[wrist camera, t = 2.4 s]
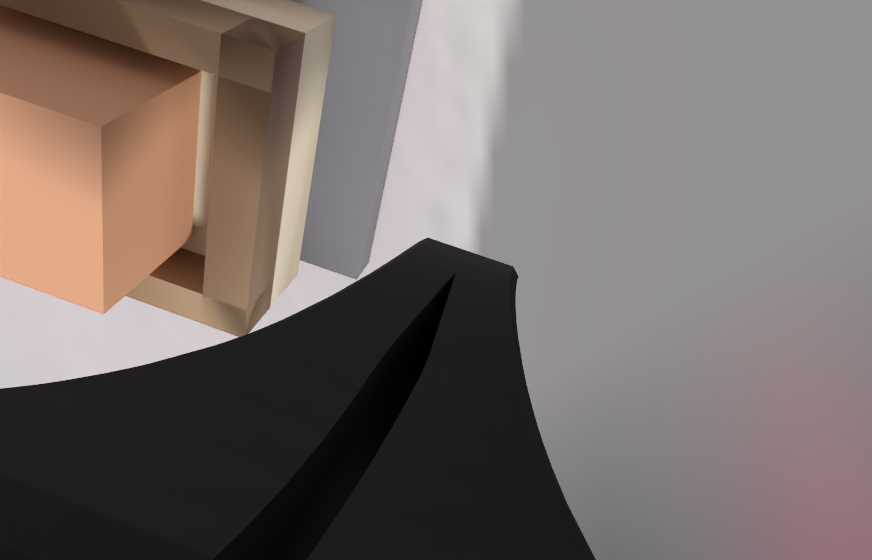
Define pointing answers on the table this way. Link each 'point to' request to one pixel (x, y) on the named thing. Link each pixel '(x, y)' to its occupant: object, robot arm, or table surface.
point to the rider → (91, 161)
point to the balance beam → (268, 136)
